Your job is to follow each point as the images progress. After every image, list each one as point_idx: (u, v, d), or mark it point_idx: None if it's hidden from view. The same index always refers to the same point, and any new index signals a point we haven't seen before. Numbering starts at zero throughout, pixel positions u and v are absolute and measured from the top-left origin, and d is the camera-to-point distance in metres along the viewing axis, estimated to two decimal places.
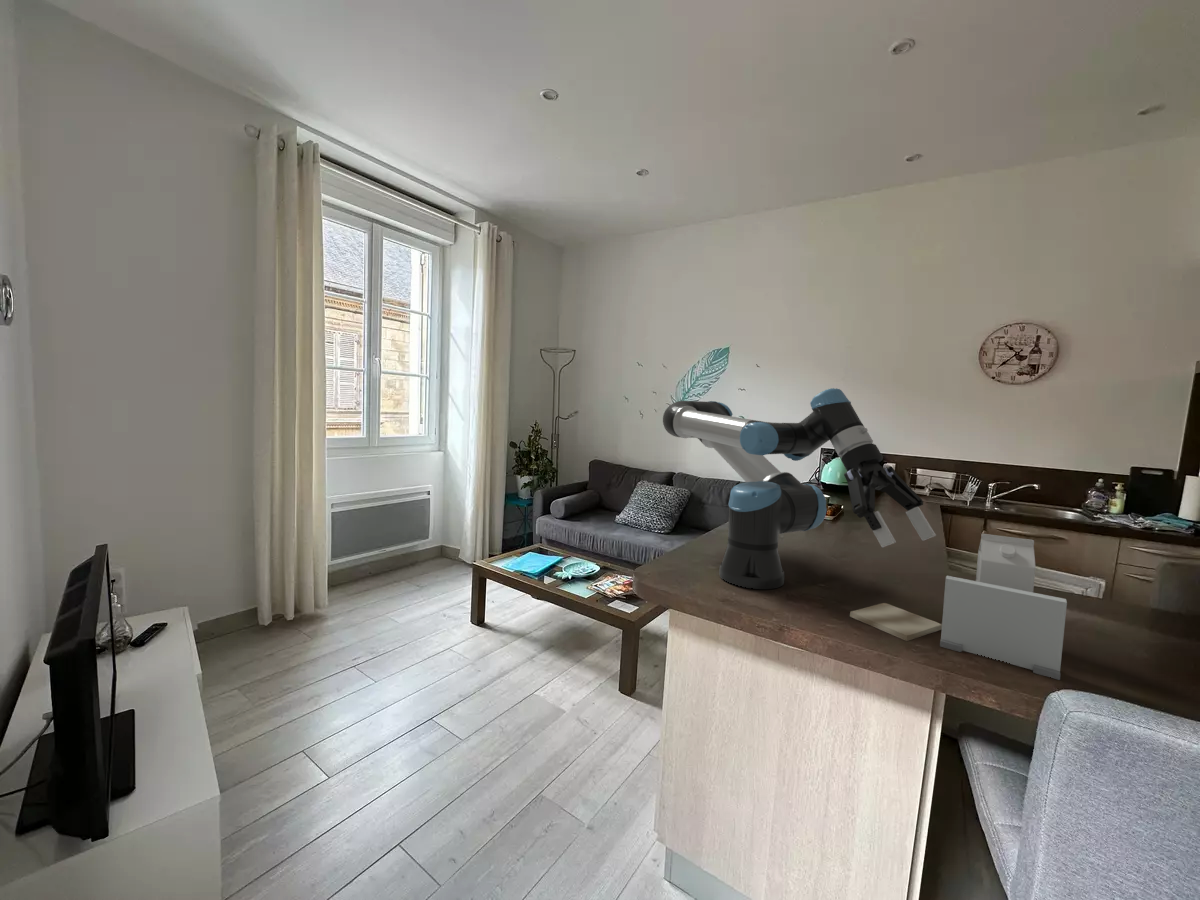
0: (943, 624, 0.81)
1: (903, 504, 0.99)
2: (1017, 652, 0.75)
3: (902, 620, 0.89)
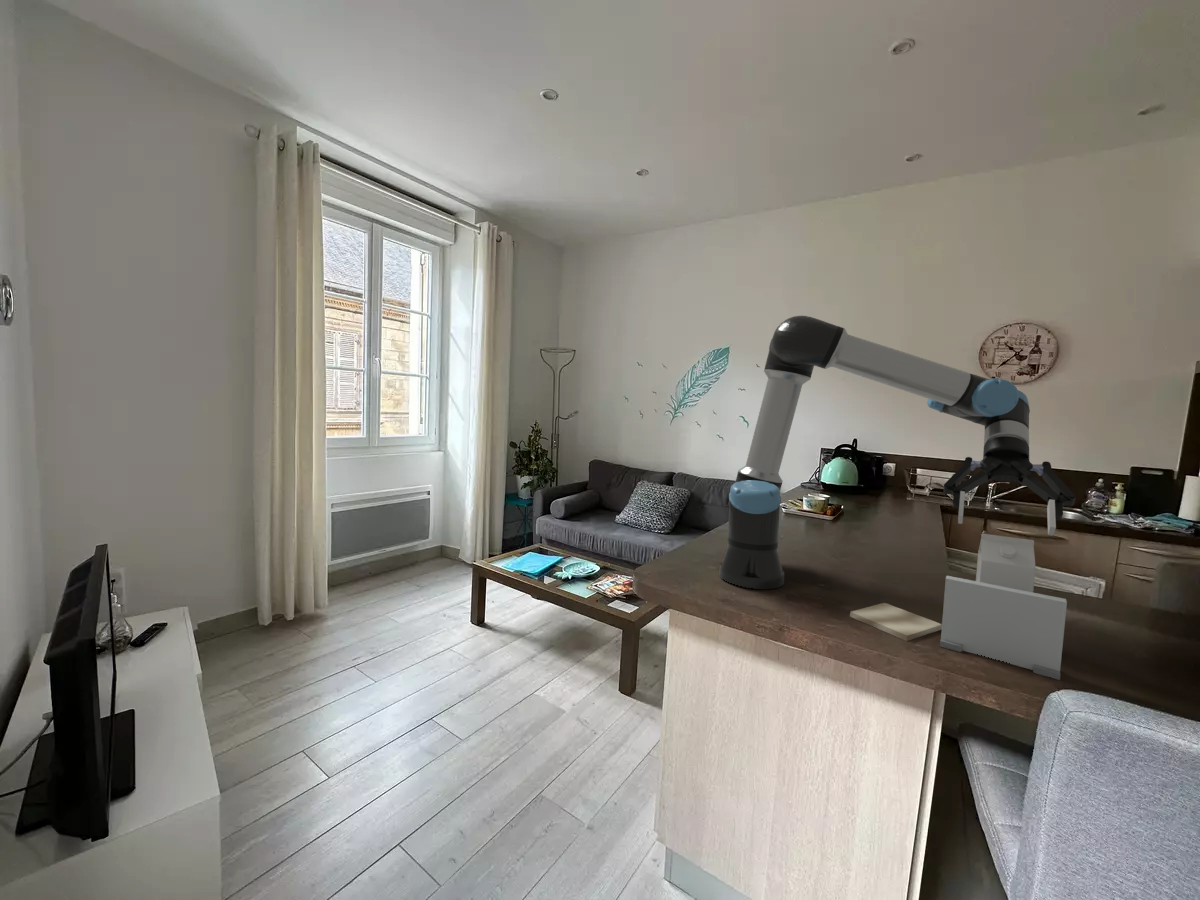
0: (943, 624, 0.81)
1: (966, 487, 0.98)
2: (1017, 652, 0.75)
3: (902, 620, 0.89)
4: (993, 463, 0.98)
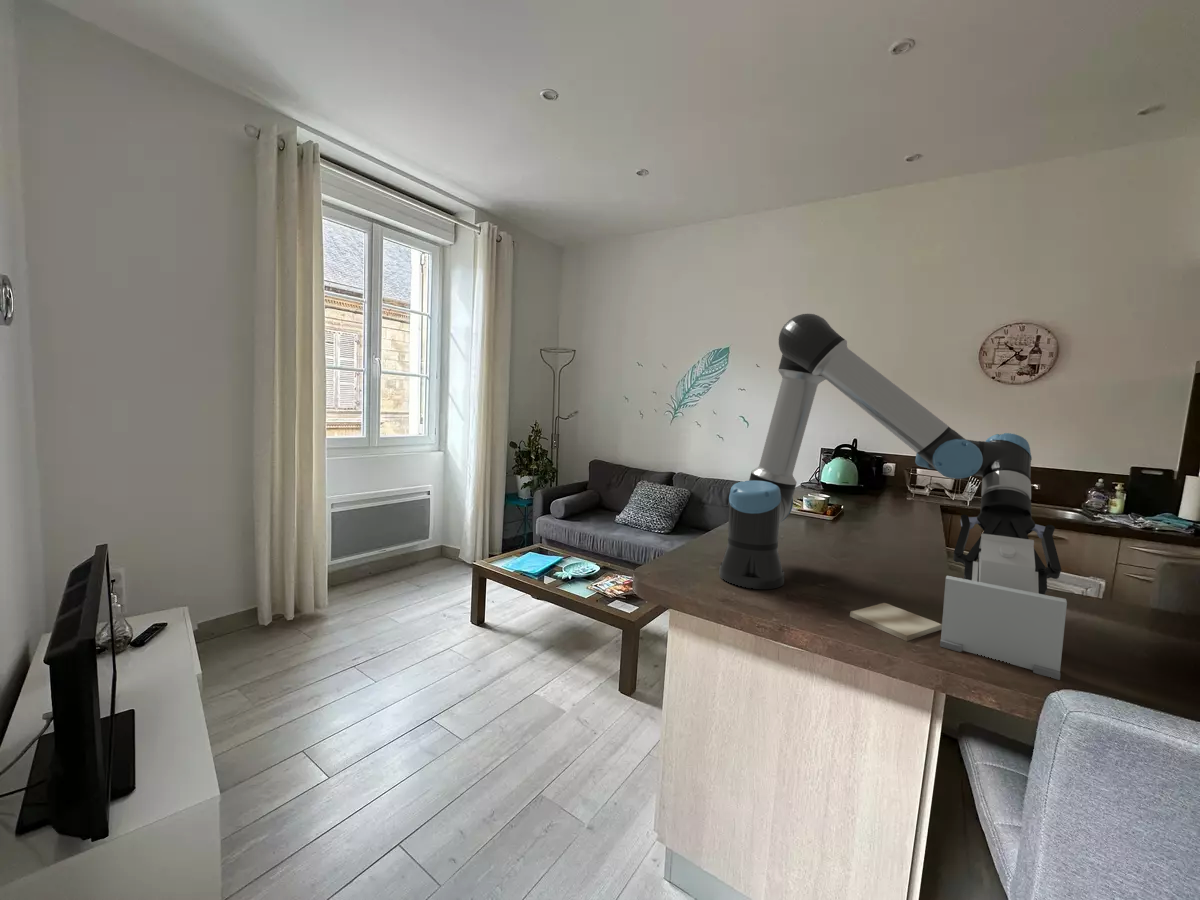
0: (943, 624, 0.81)
1: (977, 554, 0.87)
2: (1017, 652, 0.75)
3: (902, 620, 0.89)
4: (992, 521, 0.89)
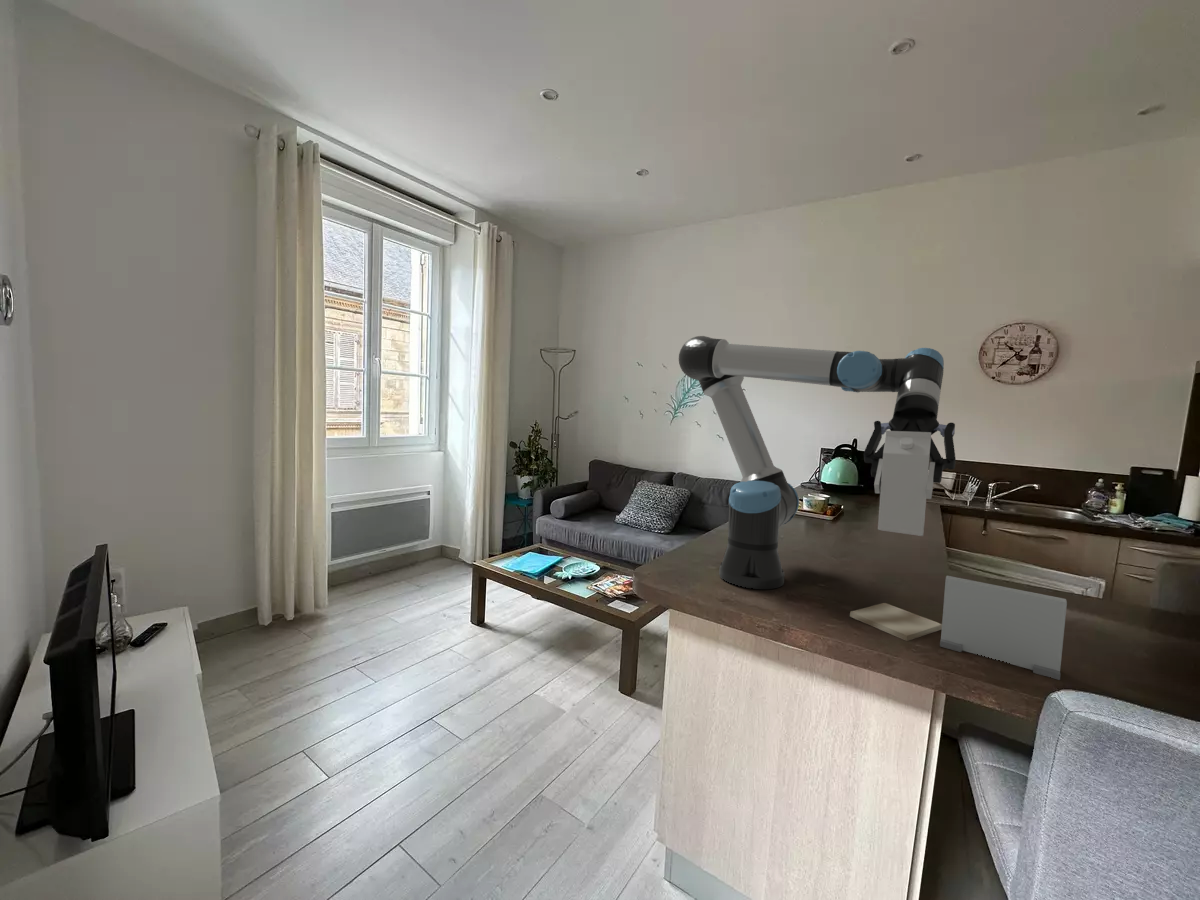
0: (943, 624, 0.81)
1: None
2: (1017, 652, 0.75)
3: (902, 620, 0.89)
4: (901, 423, 0.93)
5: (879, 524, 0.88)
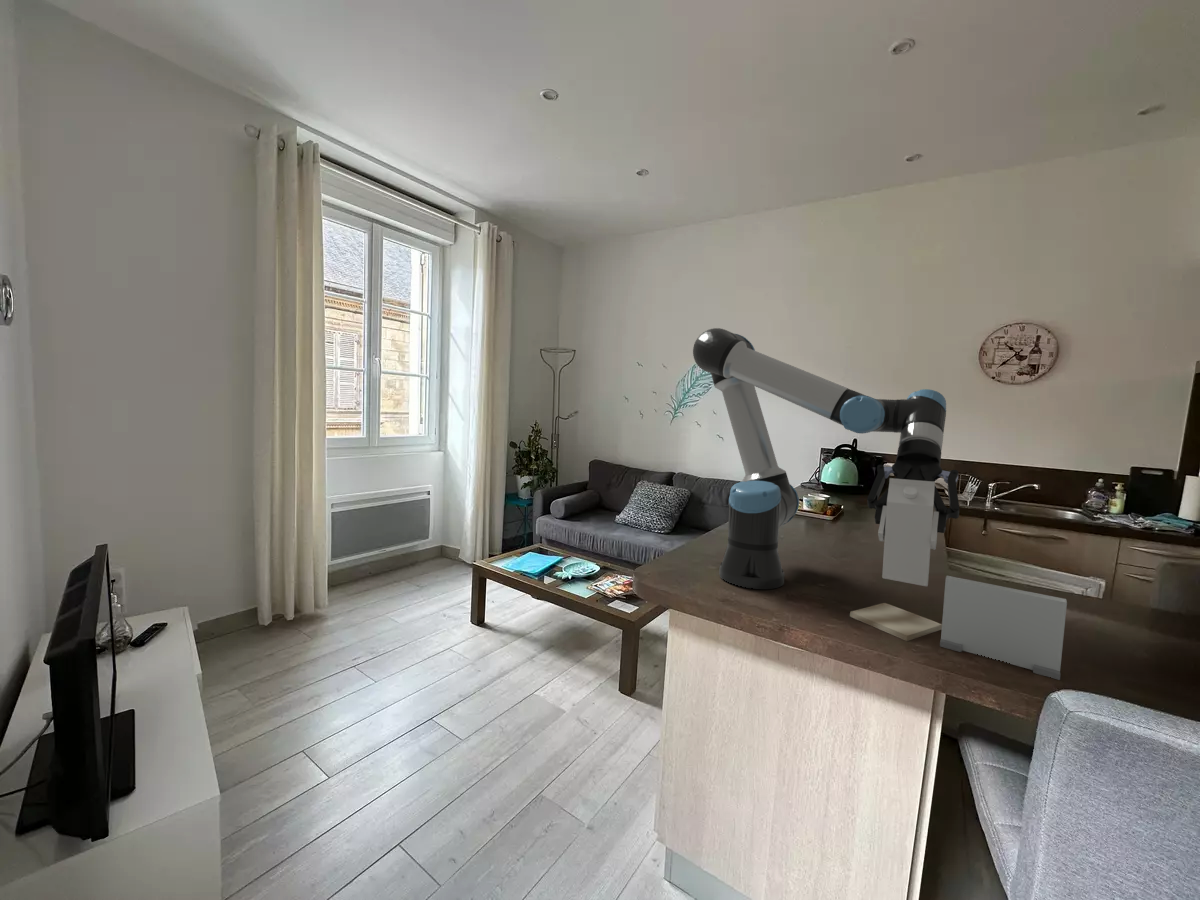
0: (943, 624, 0.81)
1: None
2: (1017, 652, 0.75)
3: (902, 620, 0.89)
4: (904, 468, 0.93)
5: (883, 572, 0.88)
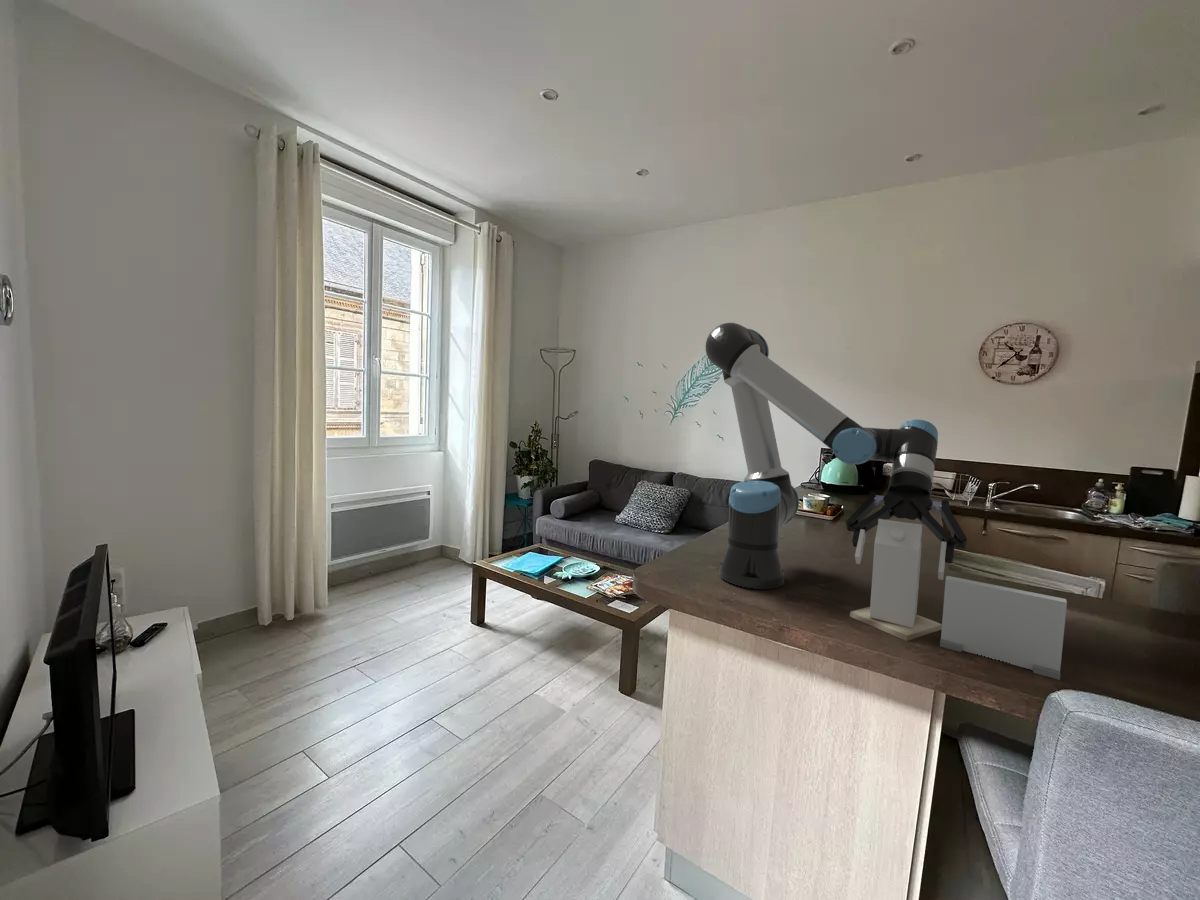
0: (943, 624, 0.81)
1: (867, 525, 0.95)
2: (1017, 652, 0.75)
3: None
4: (894, 499, 0.95)
5: (871, 612, 0.89)
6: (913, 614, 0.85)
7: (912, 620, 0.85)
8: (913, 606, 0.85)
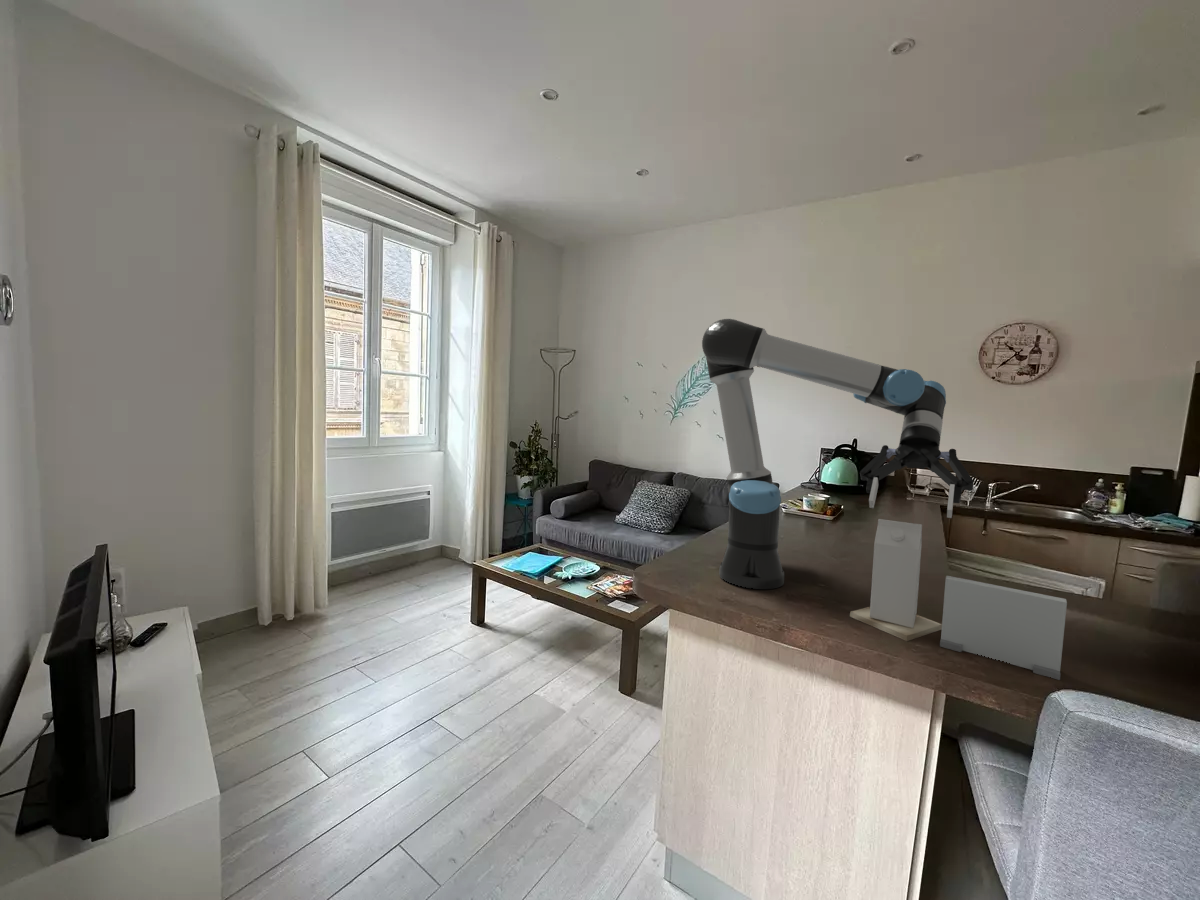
0: (943, 624, 0.81)
1: (879, 474, 1.03)
2: (1017, 652, 0.75)
3: None
4: (905, 451, 1.03)
5: (871, 612, 0.89)
6: (913, 614, 0.85)
7: (912, 620, 0.85)
8: (913, 606, 0.85)
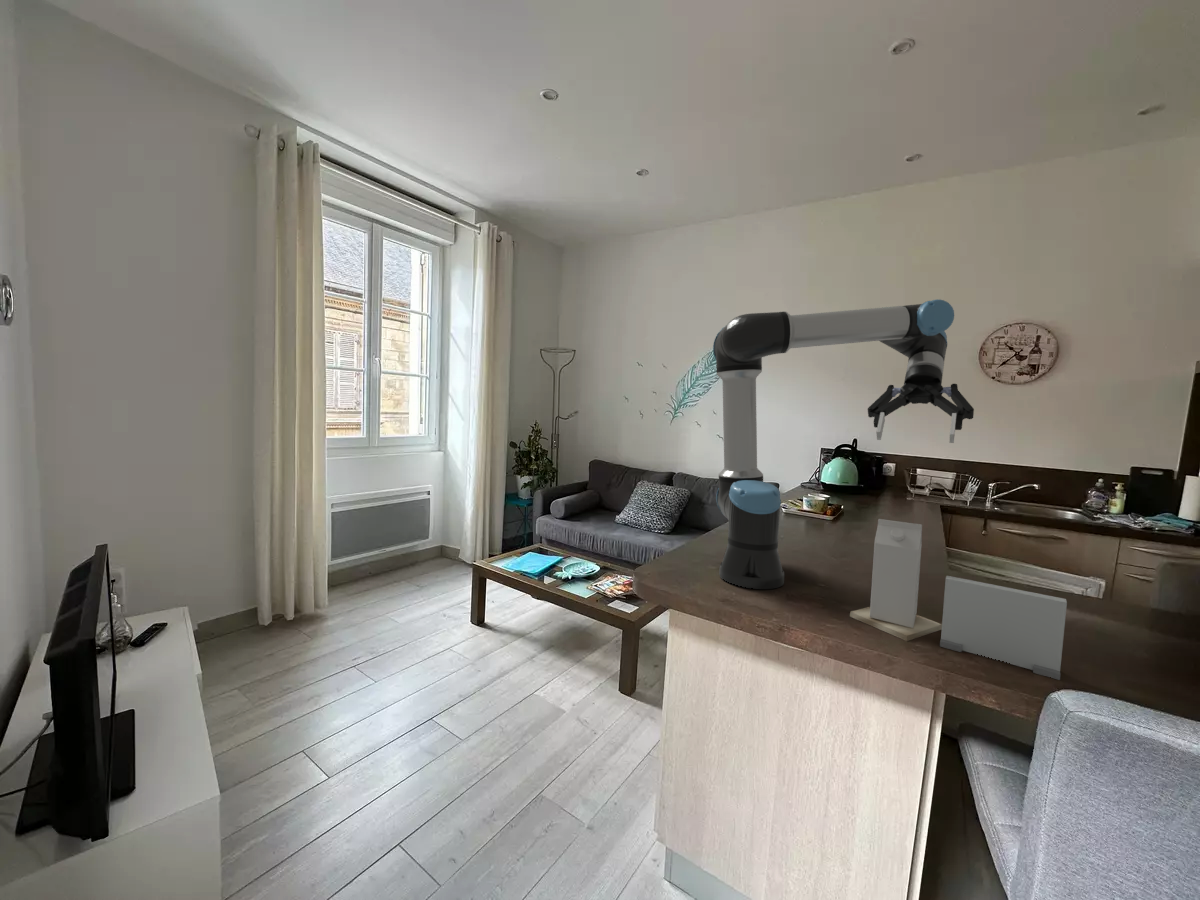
0: (943, 624, 0.81)
1: (886, 409, 1.11)
2: (1017, 652, 0.75)
3: None
4: (910, 388, 1.11)
5: (871, 612, 0.89)
6: (913, 614, 0.85)
7: (912, 620, 0.85)
8: (913, 606, 0.85)
